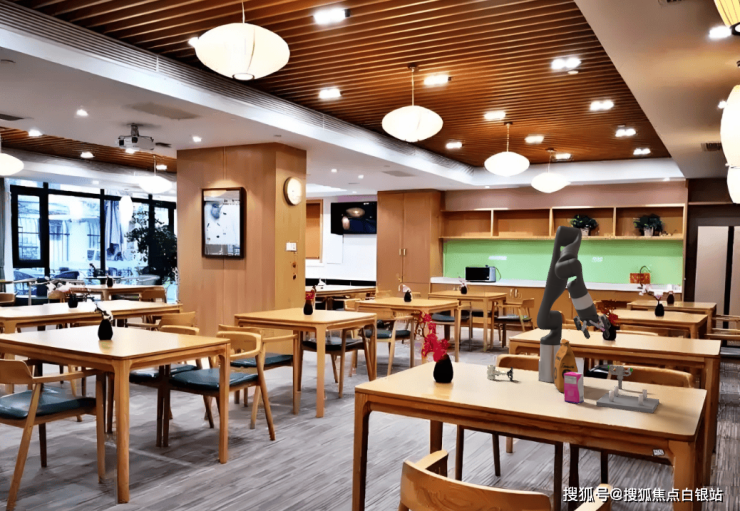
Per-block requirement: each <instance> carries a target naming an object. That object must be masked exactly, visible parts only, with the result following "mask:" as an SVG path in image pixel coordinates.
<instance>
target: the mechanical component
mask: <svg viewBox="0 0 740 511" xmlns="http://www.w3.org/2000/svg"><path fill="white" fill-rule="evenodd" d="M607 369H608V370H609V374H610V375H613V376H614V375H615V376H616V379H617V386H618V387H619V390H622V389H623V380H624V377H629V376H631V375H632V373H633V371H634V369H633V368H632V367H629V366H628V368H627V370H626V369H625V367H624V365H615V364H609V365H607ZM626 373H628V374H626Z"/></svg>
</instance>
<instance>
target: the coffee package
mask: <svg viewBox="0 0 740 511" xmlns="http://www.w3.org/2000/svg"><path fill="white" fill-rule="evenodd" d="M561 343H562V344H561V345H560V349H559V350H558V352H557V353H556V356H555V367H554V380H555V382H554V386H555V388H556V389H557V390H558V391H559V392H560V393H561V392H563V393H564V374H565V373H568V372H576V373H579V369H578V365H577V360H576V356H575V354H574V352H573V349H572V346H571V344H570V340H567V339H565V338H561Z"/></svg>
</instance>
